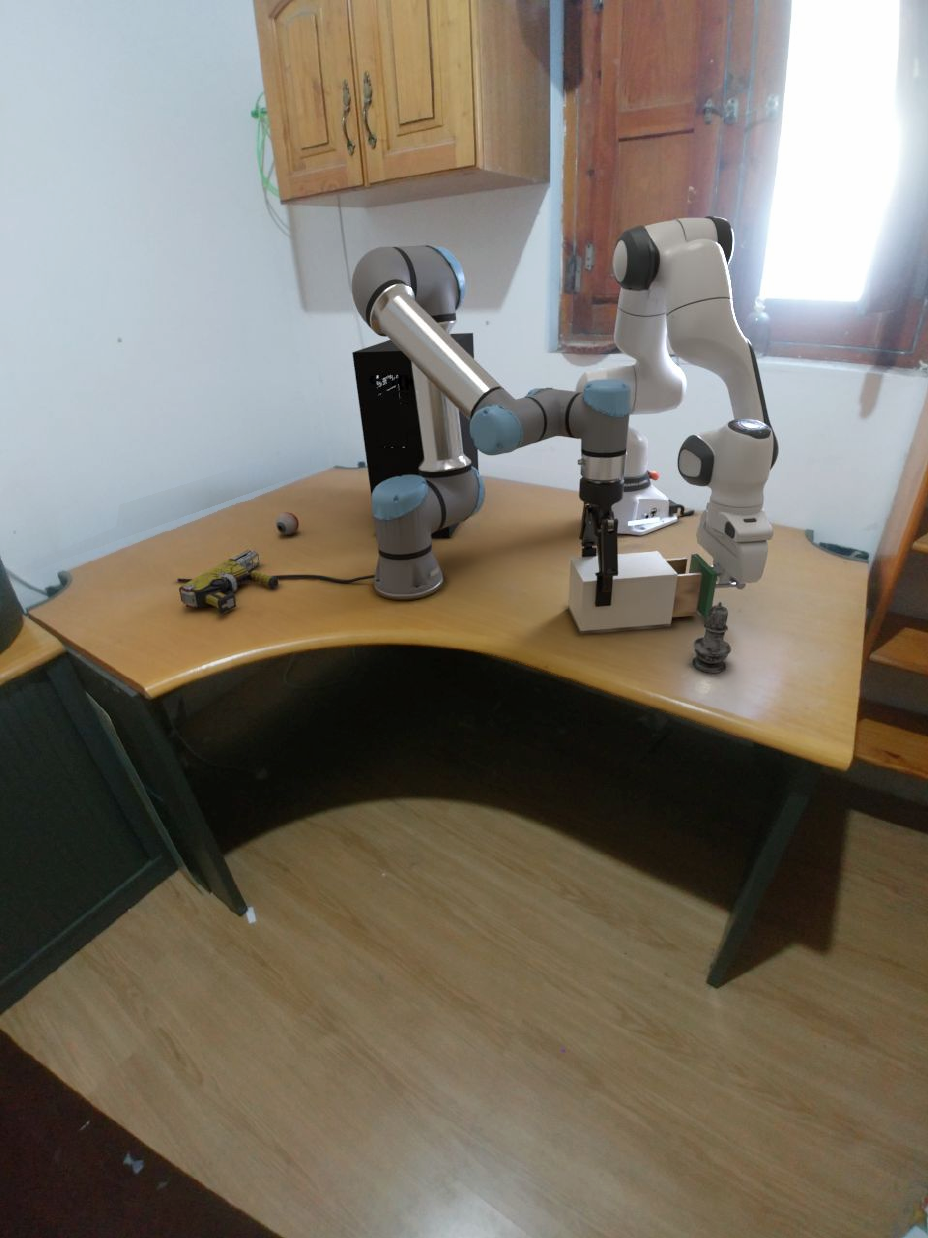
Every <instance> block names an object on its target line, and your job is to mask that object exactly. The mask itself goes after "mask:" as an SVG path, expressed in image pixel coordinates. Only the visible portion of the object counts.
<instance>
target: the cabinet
mask: <svg viewBox="0 0 928 1238" xmlns="http://www.w3.org/2000/svg"><path fill="white" fill-rule="evenodd" d="M665 559H666V558H664V557H663V555H662V554H661V553H660V552H659V551H657V550H655V551H643V552H631V553H618V576H613V584H612V597H611V606H601V607H596V606H595V598H596V582H597V576H595V573H597V572H599V565H598V555H596V556H592V557H582V556H580V557H579V556H578V557H570V559H569V578H568V579H569V581H568V582H569V583H568V586H569V587H568V606H567V609H568V611H569V613H570V615H571V618H572V620H573V622H574V624H575V626H576V628H577V631H578V632H579V635H590V634H593V635H594V634H602V633H604V634H605V633H617V632H627V631H629V632H630V631H638V630H640V631H641V630H652V629H663V628H671V627H672V619H673V617H672V612H673V605H674V598H675V591H676V584H677V576H678V574H677V573H676V572H675V570H674V569H673V568H672V567H671V566H670V565H669V564H668V562H667V561H666V560H665Z"/></svg>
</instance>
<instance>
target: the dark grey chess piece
mask: <svg viewBox="0 0 928 1238" xmlns="http://www.w3.org/2000/svg"><path fill="white" fill-rule="evenodd" d="M728 616H729V611H728V608H726V607H725V606H723V603H722V601H719V602H718V603H717V605H714V606H713V605H712V607H711V608H710V610H709V614H708V618H707V621H706V622H705V623H704V624H703V627H704V630H705V631H704V635H703V636H702V637H699V638H697V639H695V640H694V641H693V647H694V651H695V655H696V656H695V657H693V658H692V665H693V666H694V667H695V668H696V669H698V670H699V671H702V672H705V673H710V674H716V673H717V674H718V673H721V672H724V670H726V667H727V664H726V662H725V660H726V659H727V658H728V655H730V654H731V651H732V647H731V645H730V644H729V643H728V642H727V641H725V634H726V632H728V630H729V628H728V625H727V622H728Z"/></svg>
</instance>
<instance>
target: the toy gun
mask: <svg viewBox="0 0 928 1238" xmlns="http://www.w3.org/2000/svg"><path fill="white" fill-rule="evenodd" d="M255 558H257V561H256V562H255V561H254V560H255ZM259 565H260V557H259V552H258V551H256V550H253V551H252V550H251V549H246V550H245V551H243V552H242V553H240V554H238V555H236V556H234V557H233V558H229V559H227V560H226V561H223V562H222V563H220V564H219V565H217V566H215V567H213V568H211V569H209V570H208V571H205V572H203V573H202V574H199V576H196V577H194V578H192V579H193V580H191V581H189V582H185V583H184V584H182V585H180V586H179V587H178V592H179V597H180V601H181V602H182V604H183V605H185V607H186V608H189V609H193V608H204V607H205V608H206V607H208V606H213V607H214V608H217V609H218V612H219V615H223V614H225V613H227V612H229V611H231V610H233V609H235V608H237V603H236V594H235V592H237V591H238V587H239V586H240V585H243V584H245V583H248V580H250V579H251V581H255V582H256V583H259V584H262V585H264V586H268V587H269V588H271V589H275V588H276V587H278V585H279V578H276V577H272V576H273V575H270V574H266V573H263V572H261V571H258V570H255V569H254V568H255V567H258V566H259ZM253 569H254V570H253ZM250 570H252V571H251V572H250V573H249V571H250ZM270 576H271V577H270Z"/></svg>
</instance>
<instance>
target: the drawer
mask: <svg viewBox="0 0 928 1238" xmlns="http://www.w3.org/2000/svg"><path fill="white" fill-rule="evenodd" d="M664 559H665V560H666V561H667V562H668V564H669V565H670V566H671V567H672V568H673V569H674V570H675V572H676V573H677V574H678V576H677V584H676V591H675V598H674V605H673V612H672V618H680V617H693V616H696V614H697V612H698V613H699V614H700V616H701V617H702V618H703V619H708V614H709V610H710V608H711V607H713V603H714V598H715V592H716V589H724V588H725V589H726V588H736V589H737V590H743V589H745V587H746V586H747V583H745V584H740V583H738V582H737V581H736V580H735V579H734V578H733V577H731V578H730V583H725V584H718V583H717V582H716V581H717V575H718V574H717V573H716V572H715V571H714V566H713V565H710V564H709V563H707V561H706V560H704V558H703V557H701V555H699V554H698V553H691V556H690V563H689V569H688V573H686V572H687V566H688V558H687V557H673V558H664Z"/></svg>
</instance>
